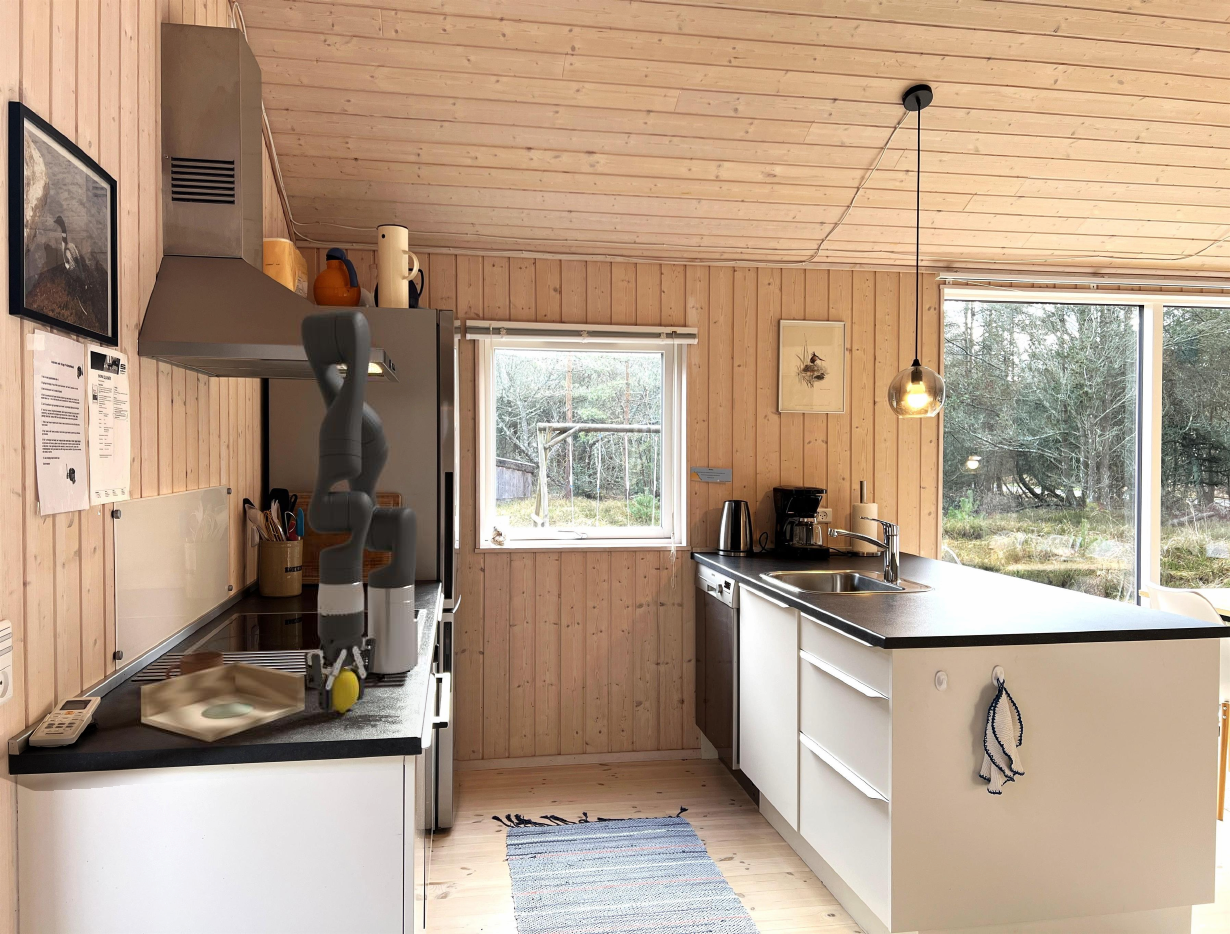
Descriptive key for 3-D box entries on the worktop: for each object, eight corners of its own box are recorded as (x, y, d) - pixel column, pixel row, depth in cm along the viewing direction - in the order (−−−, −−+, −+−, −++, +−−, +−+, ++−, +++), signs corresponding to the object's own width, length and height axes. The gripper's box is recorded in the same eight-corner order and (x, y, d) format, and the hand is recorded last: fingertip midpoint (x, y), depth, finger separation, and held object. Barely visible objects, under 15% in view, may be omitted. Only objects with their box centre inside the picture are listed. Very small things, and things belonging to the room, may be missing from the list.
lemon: (358, 716, 141) (358, 669, 141) (324, 719, 140) (323, 672, 140) (359, 706, 147) (358, 661, 146) (325, 709, 145) (325, 663, 145)
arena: (237, 693, 154) (237, 661, 154) (304, 709, 145) (304, 675, 145) (141, 722, 138) (140, 686, 138) (210, 741, 129) (209, 703, 129)
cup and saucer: (192, 702, 149) (191, 668, 149) (152, 692, 155) (151, 659, 155) (250, 685, 160) (250, 653, 160) (210, 676, 166) (210, 645, 166)
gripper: (357, 599, 151) (357, 690, 151) (291, 613, 138) (292, 713, 139) (387, 603, 147) (388, 697, 148) (323, 617, 135) (323, 720, 135)
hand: (341, 704), depth 143 cm, fingers open, 6 cm apart
